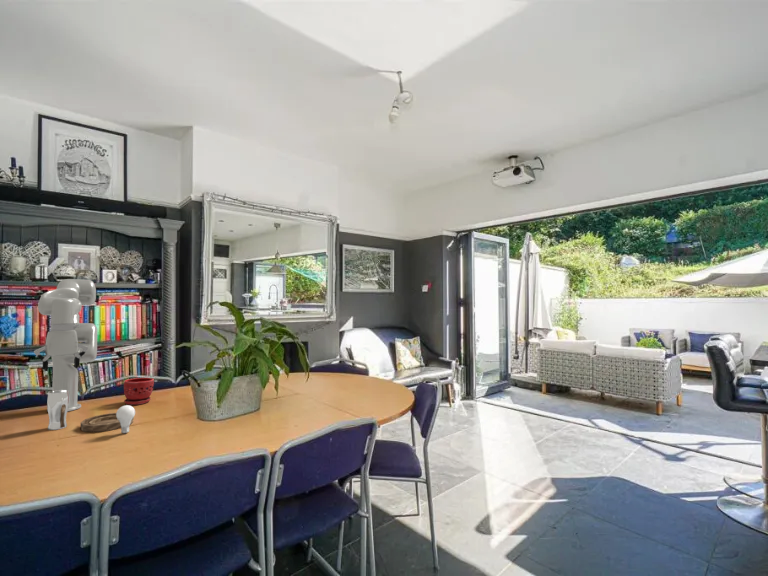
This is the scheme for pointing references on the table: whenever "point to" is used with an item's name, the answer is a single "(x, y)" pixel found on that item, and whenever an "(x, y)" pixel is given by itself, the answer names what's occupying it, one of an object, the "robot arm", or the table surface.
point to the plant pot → (138, 390)
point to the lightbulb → (125, 417)
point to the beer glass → (57, 408)
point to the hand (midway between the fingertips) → (61, 369)
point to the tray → (101, 423)
